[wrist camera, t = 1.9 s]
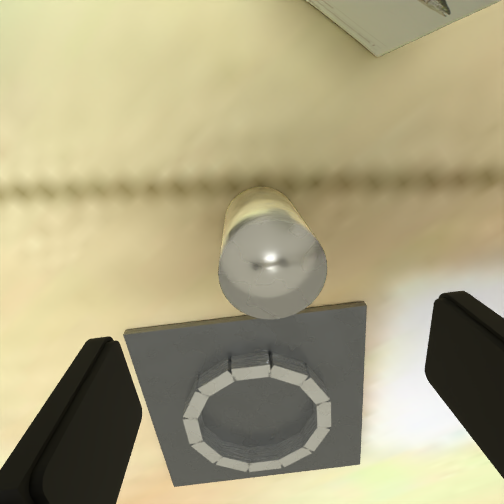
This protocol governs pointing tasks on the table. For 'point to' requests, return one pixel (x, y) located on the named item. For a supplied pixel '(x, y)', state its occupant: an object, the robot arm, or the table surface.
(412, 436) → the table surface
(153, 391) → the ring mat
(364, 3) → the supplement box
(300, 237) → the piston
